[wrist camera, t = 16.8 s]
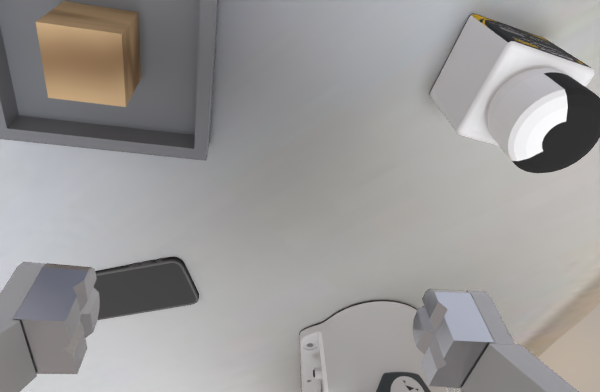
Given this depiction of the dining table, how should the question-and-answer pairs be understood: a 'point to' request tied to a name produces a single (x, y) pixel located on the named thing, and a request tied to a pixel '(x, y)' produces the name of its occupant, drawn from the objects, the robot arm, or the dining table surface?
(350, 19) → the dining table surface
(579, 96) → the medicine bottle
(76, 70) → the oversize block
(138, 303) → the smartphone
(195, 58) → the sorting tray
